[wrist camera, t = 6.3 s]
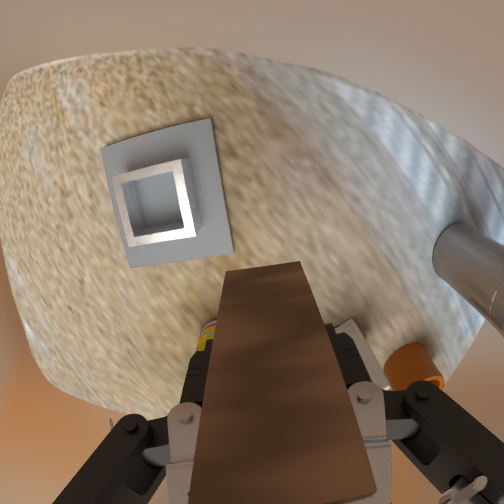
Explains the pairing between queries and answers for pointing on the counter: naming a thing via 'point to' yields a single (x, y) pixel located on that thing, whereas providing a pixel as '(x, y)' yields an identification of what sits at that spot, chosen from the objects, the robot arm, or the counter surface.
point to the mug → (411, 368)
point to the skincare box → (365, 354)
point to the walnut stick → (276, 401)
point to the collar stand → (169, 195)
